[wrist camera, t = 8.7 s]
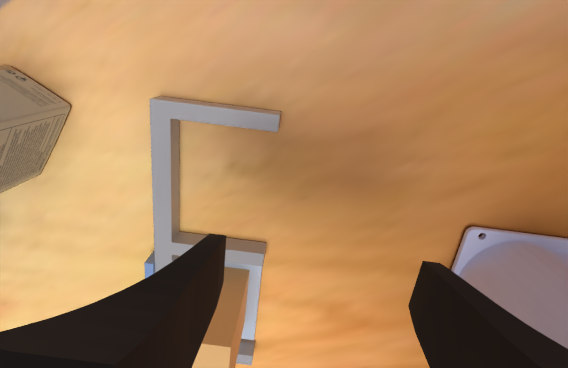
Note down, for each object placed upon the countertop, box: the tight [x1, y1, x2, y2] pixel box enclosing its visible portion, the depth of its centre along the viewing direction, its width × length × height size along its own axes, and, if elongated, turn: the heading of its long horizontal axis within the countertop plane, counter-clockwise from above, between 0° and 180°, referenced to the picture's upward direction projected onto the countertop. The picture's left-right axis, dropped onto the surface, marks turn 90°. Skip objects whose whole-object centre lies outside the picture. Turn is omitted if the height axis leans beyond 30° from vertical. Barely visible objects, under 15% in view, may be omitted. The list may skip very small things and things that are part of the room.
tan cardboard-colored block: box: [192, 267, 250, 368], centre depth 22 cm, size 4×5×7 cm
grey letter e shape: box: [145, 96, 281, 365], centre depth 23 cm, size 8×20×2 cm, turn 173°
